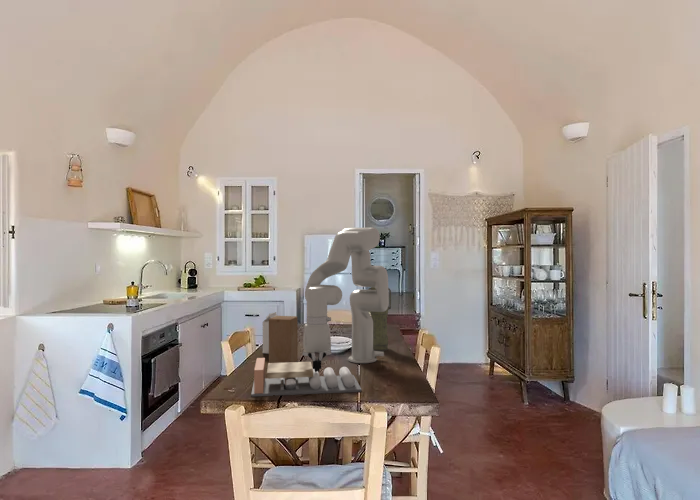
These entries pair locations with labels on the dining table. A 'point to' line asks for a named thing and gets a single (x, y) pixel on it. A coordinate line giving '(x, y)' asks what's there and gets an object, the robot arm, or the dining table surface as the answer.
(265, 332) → the milk carton
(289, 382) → the roller
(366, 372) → the dining table surface
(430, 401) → the dining table surface
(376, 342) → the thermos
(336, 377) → the roller bed
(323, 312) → the robot arm
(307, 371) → the slab
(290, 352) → the wooden block
